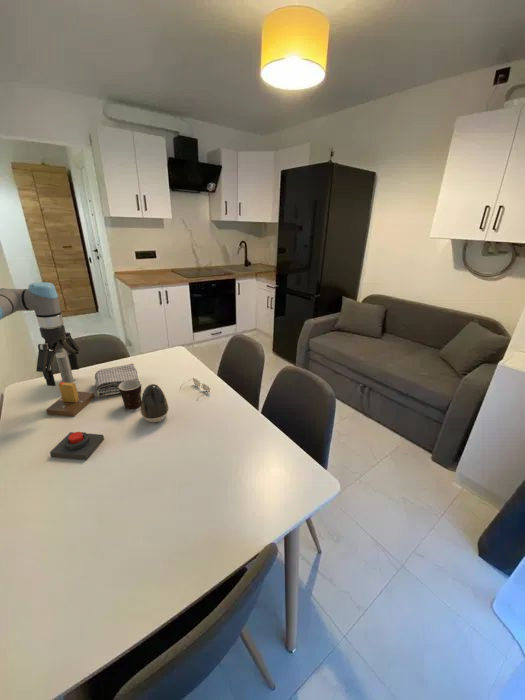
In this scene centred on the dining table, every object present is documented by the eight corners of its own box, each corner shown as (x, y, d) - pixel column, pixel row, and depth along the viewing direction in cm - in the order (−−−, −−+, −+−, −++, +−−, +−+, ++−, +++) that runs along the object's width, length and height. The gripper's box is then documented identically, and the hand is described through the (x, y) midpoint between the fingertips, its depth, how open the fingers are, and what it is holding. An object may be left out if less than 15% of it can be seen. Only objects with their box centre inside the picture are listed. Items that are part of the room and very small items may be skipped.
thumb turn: (79, 399, 120) (74, 382, 117) (75, 402, 118) (71, 385, 115) (66, 398, 120) (61, 381, 117) (62, 401, 119) (58, 384, 115)
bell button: (66, 443, 96) (65, 439, 95) (74, 435, 99) (73, 431, 98) (78, 444, 95) (77, 440, 95) (86, 436, 99) (85, 432, 98)
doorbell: (51, 457, 94) (48, 448, 93) (71, 436, 104) (69, 427, 102) (87, 460, 94) (84, 450, 92) (104, 439, 103) (102, 430, 101)
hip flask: (74, 392, 130) (64, 351, 122) (64, 394, 128) (52, 353, 120) (73, 377, 142) (63, 339, 134) (63, 379, 140) (53, 340, 132)
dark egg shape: (136, 423, 112) (130, 389, 106) (152, 408, 121) (148, 376, 115) (159, 428, 110) (155, 394, 104) (174, 413, 119) (171, 381, 113)
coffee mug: (130, 398, 127) (127, 378, 123) (148, 401, 126) (145, 381, 122) (112, 413, 117) (108, 392, 113) (131, 417, 115) (128, 395, 111)
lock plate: (74, 416, 114) (72, 411, 113) (47, 414, 114) (45, 409, 113) (95, 397, 127) (94, 392, 126) (70, 395, 127) (69, 390, 126)
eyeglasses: (211, 394, 133) (210, 387, 131) (197, 402, 128) (196, 395, 126) (193, 383, 141) (192, 376, 139) (179, 390, 136) (177, 383, 134)
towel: (96, 383, 137) (93, 368, 134) (137, 375, 146) (135, 361, 143) (98, 399, 125) (94, 383, 122) (142, 389, 134) (140, 374, 131)
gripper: (64, 315, 118) (75, 362, 126) (12, 337, 95) (29, 392, 103) (82, 316, 117) (92, 363, 126) (35, 338, 94) (50, 394, 103)
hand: (64, 376), depth 114 cm, fingers open, 13 cm apart
